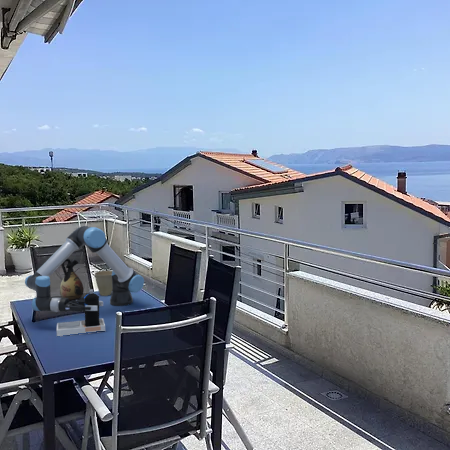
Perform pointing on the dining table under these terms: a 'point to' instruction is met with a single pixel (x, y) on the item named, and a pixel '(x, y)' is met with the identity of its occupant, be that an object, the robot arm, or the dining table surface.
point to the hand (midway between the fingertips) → (100, 305)
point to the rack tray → (78, 327)
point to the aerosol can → (92, 316)
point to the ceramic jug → (71, 282)
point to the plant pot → (104, 282)
